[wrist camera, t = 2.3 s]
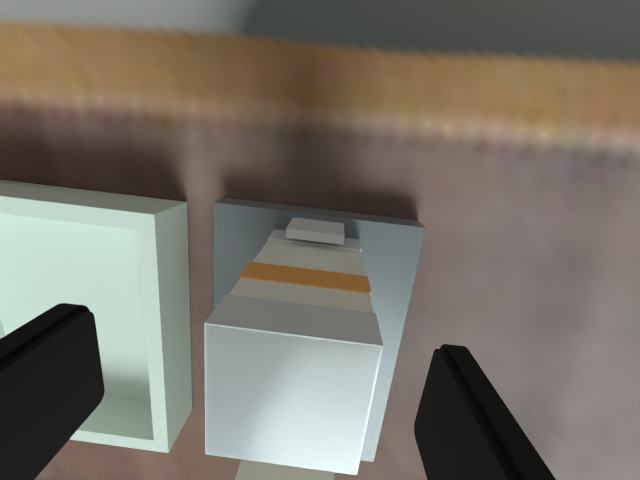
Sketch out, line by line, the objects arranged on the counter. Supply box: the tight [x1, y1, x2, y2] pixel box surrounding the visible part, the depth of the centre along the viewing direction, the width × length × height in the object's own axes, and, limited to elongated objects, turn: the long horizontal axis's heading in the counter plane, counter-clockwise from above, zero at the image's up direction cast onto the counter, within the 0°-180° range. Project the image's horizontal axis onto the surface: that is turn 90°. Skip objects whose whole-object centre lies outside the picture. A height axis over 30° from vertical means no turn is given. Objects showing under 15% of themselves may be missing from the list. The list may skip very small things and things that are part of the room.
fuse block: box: [213, 197, 426, 462], centre depth 16 cm, size 10×15×4 cm, turn 174°
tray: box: [0, 180, 192, 453], centre depth 17 cm, size 12×14×3 cm
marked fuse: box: [204, 229, 383, 475], centre depth 11 cm, size 4×4×8 cm
